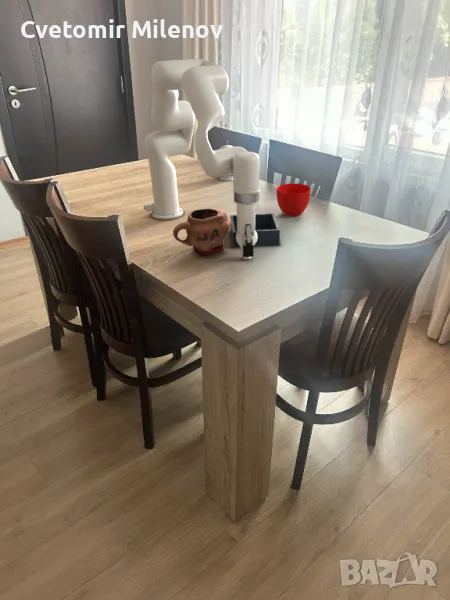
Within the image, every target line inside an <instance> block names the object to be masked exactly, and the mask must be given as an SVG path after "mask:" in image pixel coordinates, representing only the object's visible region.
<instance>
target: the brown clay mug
mask: <svg viewBox="0 0 450 600" xmlns="http://www.w3.org/2000/svg"><path fill="white" fill-rule="evenodd" d="M231 226H232V222H231V220H230V218H229V217H228V214H227V213H226V212H225V211H224V210H222V209H217V208H212V207H211V208H210V207H209V208H199V209H194V210H192V211H190V212H189V213H188V214H187V219H186V221H184V222H180V223H179V224H177V225H175V227H174V228H173V230H172V235H173V238H174V240H176V241H178V242H179V243H181V244H182V245H186V246H188V247H192V249H193V253H194V254H195V255H197V256H198V257H202V258H209V257H215V256H218V255H220V254H222V253H223V252H224V251H225V243H224V240H225V238H226V236H227V235H228V233H229V232H230V231H231ZM183 230H185V231H186V237H185V239H181V238H179V236H178V235H179V232H180V231H183Z"/></svg>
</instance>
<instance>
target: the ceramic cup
mask: <svg viewBox="0 0 450 600" xmlns="http://www.w3.org/2000/svg"><path fill="white" fill-rule="evenodd" d="M311 192H312V188H311V187H310V186H309V185H307V184H304V183H296V182H295V183H294V182H293V183H284V184H280V185H278V186H277V187H276V202H277V205H278V207H279V209H280V211H281V212H282V213H283V214H284V215H285V216H287V217H298V216H301V215H302V213H303V212H304V211H305V210H306V209H307V208H308V206H309V202H310V199H311V194H312V193H311Z"/></svg>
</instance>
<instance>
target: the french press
mask: <svg viewBox="0 0 450 600" xmlns="http://www.w3.org/2000/svg"><path fill="white" fill-rule="evenodd" d="M229 126H230V125H229V123H225V124H224V127H225V128H228V127H229ZM230 147H234V145H229V144H228V141H226V145H222V146H220V147H219V149H224V148H230ZM218 179H219V180H221V181H233V174H230V175H226V176H222V177H218Z"/></svg>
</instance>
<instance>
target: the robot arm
mask: <svg viewBox="0 0 450 600" xmlns="http://www.w3.org/2000/svg"><path fill="white" fill-rule="evenodd" d="M150 80H151V86H152V99H151V100H152V101H151V110H150V111H151V112H150V124H151V127H152V128H153V130H154V131H152V132H150V133H148V134H146V136H145V137H144V140H143V145H144V150H145V153H146V156H147V160H148V165H149V172H150V178H151V186H152V195H153V196H152V197H153V203H151V204H143V210H145V212H151V216H152V218H153V219H158V220H173V219H177V218H179V217H181V216H183V215H184V210H183V208H182V207H180V206H179V205H180V204H179V193H178V182H177V172H176V167H175V165H174V164H173V163H172V162H171V160H170V158H173V157H177V156H181V155H185V154H187V153H188V152H189V151H190V150H191V146H192V143H193V142H192V141H193V135H194V149H195V150H194V151H195V154H196V157H197V158H198V161H199V163H200V166H201V168H202V170H203V172H204V173H205V174H206V175H207V176H208V177H210V178H213V179H215V178H219V177H222V176H226V175H230V174H233V180H232V182H233V183H232V185H233V189H232V190H233V203H234V204H235V205H236V215H237V231H238V236H239V237H243V239H244V244H243V253H242V254H243V257H251V258H253V257H254V255H255V247H254V244H253V236H254V235H255V214H256V204H258V203H260V156H259V154H258V153H256V152H253V151H249V150H247V149H246V148H244V147H243V146H239V145H238V146H237V145H236V146H233V147H230V148H224V149H220V148H218V149H214V150H213V149H212V146H211V143H210V141H209V137H208V132H209V131H210V130H211V129H213V128H214V127H215V126H217V125H218V124H219V123H221V121H222V120H223V119H224V116H225V109H224V107H223V105H222V102H221V100H220V97H219V96H222V95H224V94H226V93H227V91H228V89H229V85H230V83H229V81H230V80H229V77H228V74H227V72H226V70H225V69H224V67H222V66H221V65H220V64H219V63H218V64H217V63H215V62H211V61H209V60H207V59H206V60H205V59H203V58H186V59H171V60H170V59H169V60H159V61H156V62H154V64H153V65H152V66H151V70H150ZM181 90H182V91H184V94H185V96H186V98H187V100H185V99H183V100H182V99H181V100H179V91H181ZM196 121H197V127H196V130H194V129H195V124H196ZM194 131H195V133H194ZM245 234H247V235H245ZM245 238H247V239H245Z"/></svg>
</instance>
